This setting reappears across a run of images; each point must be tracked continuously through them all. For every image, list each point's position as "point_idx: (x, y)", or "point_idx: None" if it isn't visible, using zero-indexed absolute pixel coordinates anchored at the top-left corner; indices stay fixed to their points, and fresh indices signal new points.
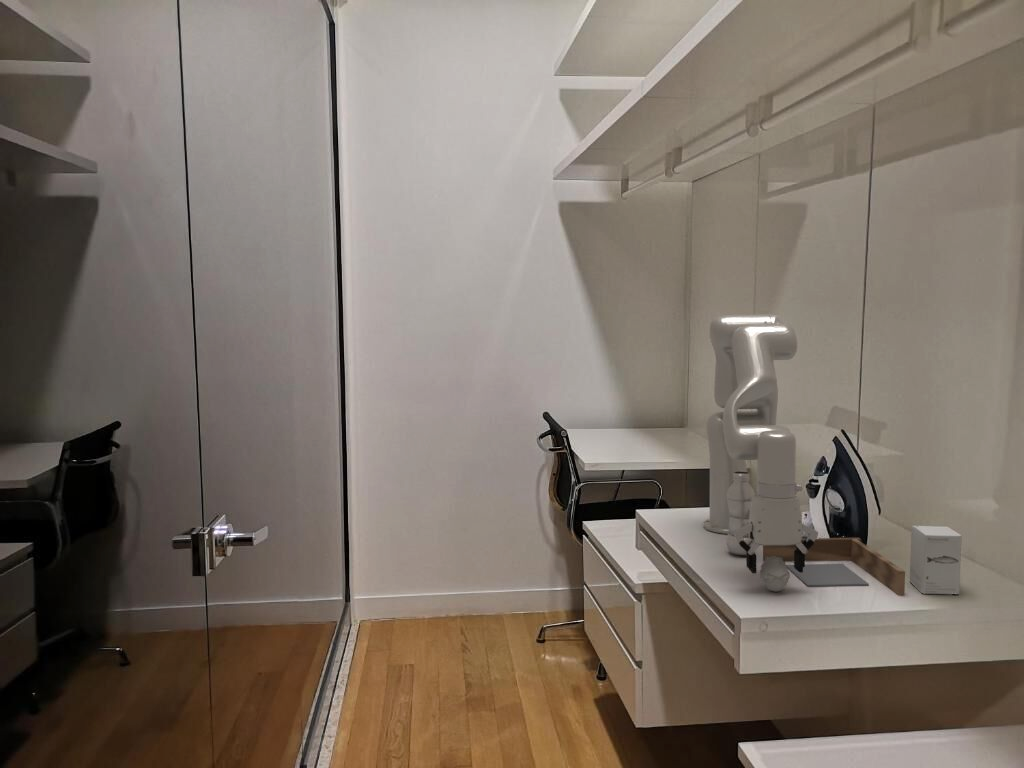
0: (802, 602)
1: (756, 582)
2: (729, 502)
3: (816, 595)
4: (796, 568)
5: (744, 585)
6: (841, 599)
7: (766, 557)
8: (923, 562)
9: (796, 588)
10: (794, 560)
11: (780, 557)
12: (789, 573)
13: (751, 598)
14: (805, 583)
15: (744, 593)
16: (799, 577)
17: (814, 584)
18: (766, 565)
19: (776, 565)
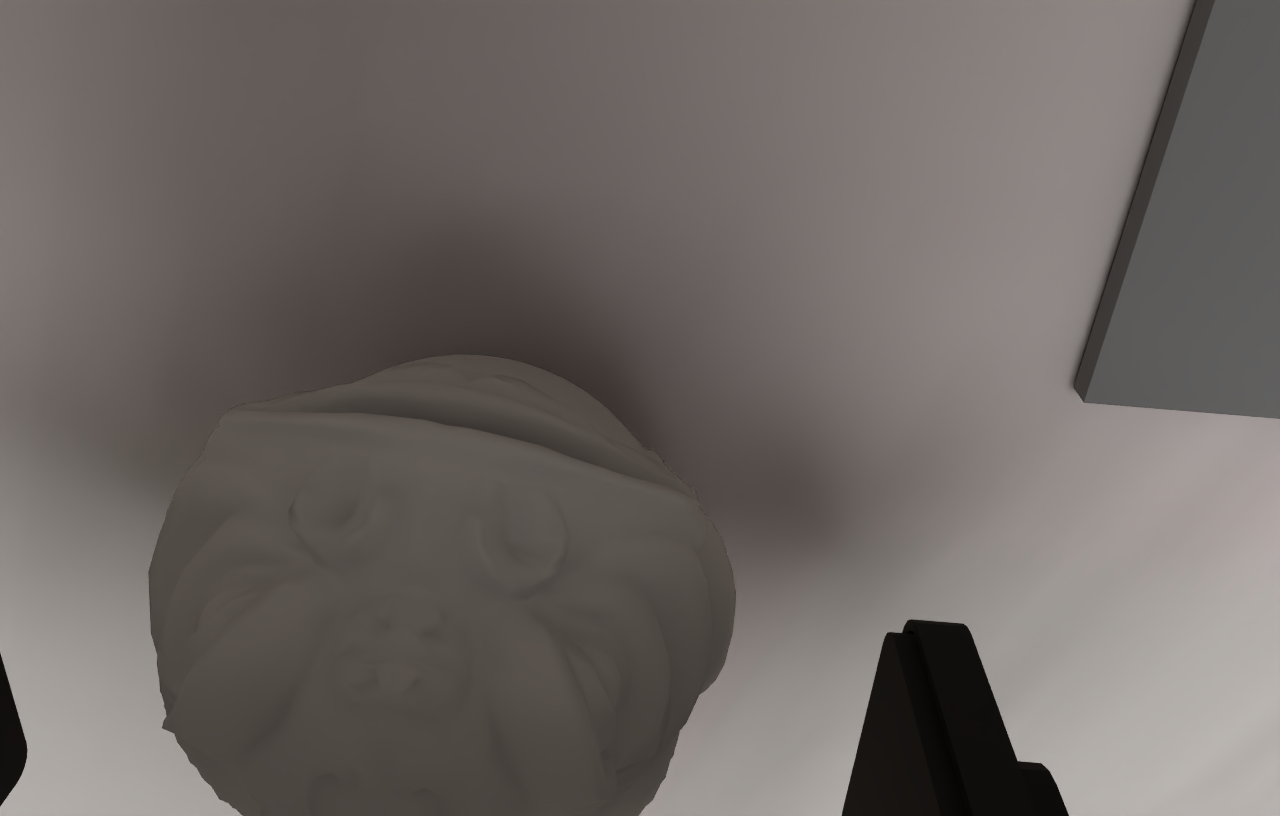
0: (690, 796)
1: (309, 62)
2: None
3: (985, 660)
4: (868, 744)
5: (70, 179)
6: (1198, 789)
7: (196, 709)
8: None
9: (866, 414)
10: (920, 762)
11: (571, 771)
12: (708, 685)
13: (112, 632)
14: (1109, 316)
15: (37, 480)
16: (1207, 24)
17: (1214, 393)
18: (203, 775)
19: None
